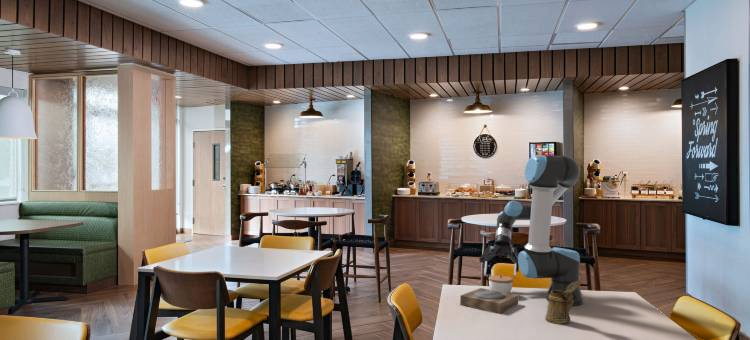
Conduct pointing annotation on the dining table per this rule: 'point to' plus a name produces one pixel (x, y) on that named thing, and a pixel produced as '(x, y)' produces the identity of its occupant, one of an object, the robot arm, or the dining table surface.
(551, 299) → the wooden mug
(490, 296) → the walnut plinth
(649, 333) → the dining table surface
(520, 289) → the dining table surface
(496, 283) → the lidded jar
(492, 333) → the dining table surface
